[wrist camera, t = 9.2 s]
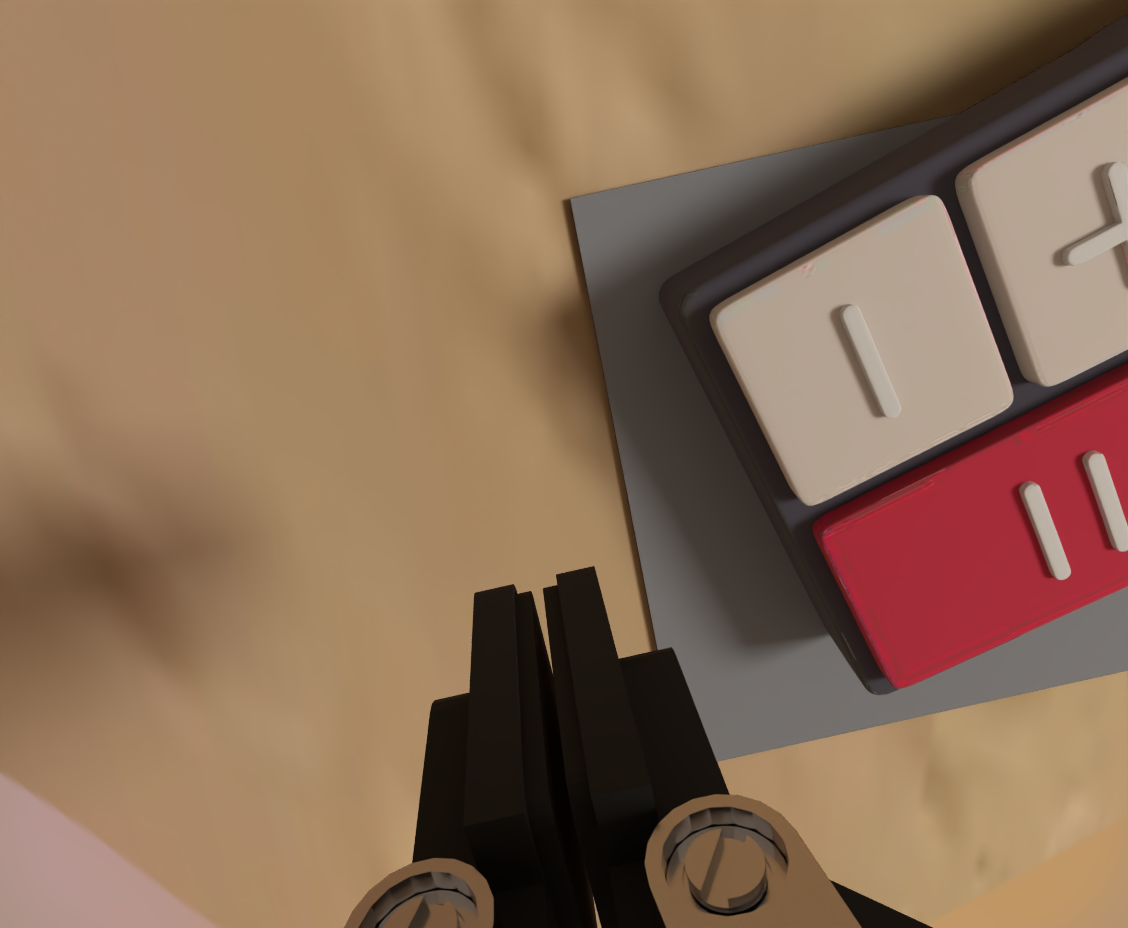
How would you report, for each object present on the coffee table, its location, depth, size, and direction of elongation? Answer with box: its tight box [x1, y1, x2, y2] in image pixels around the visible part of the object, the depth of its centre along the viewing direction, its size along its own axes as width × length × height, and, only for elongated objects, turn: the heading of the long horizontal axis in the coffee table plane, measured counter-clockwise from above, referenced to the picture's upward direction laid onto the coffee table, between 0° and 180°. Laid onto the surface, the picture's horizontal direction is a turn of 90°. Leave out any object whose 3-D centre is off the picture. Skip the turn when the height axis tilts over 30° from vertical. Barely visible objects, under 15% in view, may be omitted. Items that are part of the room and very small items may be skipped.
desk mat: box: [570, 113, 1128, 762], centre depth 20 cm, size 16×15×1 cm
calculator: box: [659, 14, 1128, 695], centre depth 17 cm, size 11×4×15 cm
